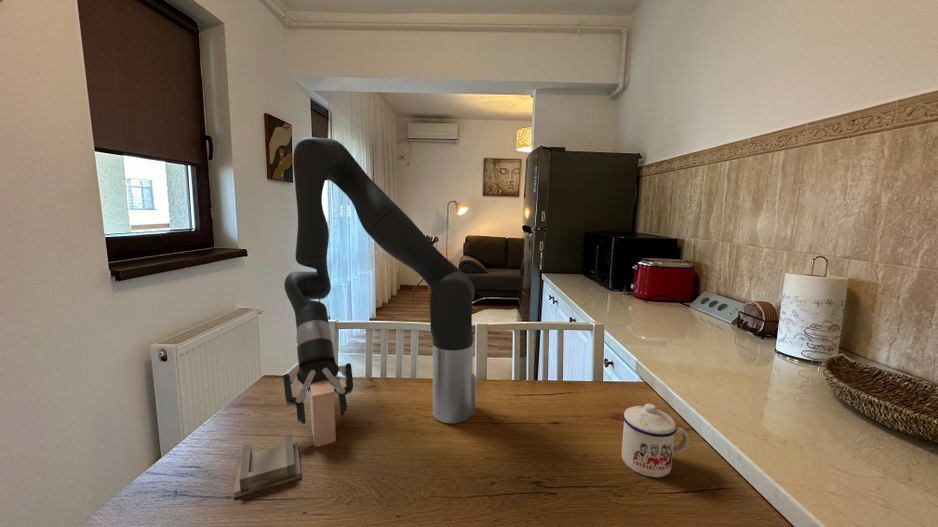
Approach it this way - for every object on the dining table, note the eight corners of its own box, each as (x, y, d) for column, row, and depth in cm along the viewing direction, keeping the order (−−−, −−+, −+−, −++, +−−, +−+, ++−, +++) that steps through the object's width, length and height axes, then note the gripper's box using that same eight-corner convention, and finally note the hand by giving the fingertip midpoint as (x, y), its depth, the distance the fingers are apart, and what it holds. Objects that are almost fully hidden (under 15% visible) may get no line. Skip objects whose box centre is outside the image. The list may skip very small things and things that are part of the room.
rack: (297, 446, 74) (296, 432, 73) (301, 477, 65) (300, 462, 65) (239, 461, 69) (238, 446, 69) (234, 497, 60) (233, 481, 60)
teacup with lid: (630, 478, 66) (635, 418, 64) (613, 446, 75) (617, 392, 73) (698, 481, 65) (705, 420, 64) (673, 448, 74) (678, 395, 73)
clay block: (331, 426, 80) (329, 379, 79) (335, 441, 75) (333, 391, 74) (311, 431, 79) (309, 383, 77) (314, 447, 73) (312, 396, 72)
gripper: (279, 342, 77) (283, 422, 69) (349, 332, 84) (361, 404, 75) (280, 357, 83) (284, 433, 74) (346, 347, 89) (357, 415, 81)
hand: (323, 418), depth 75 cm, fingers open, 7 cm apart
